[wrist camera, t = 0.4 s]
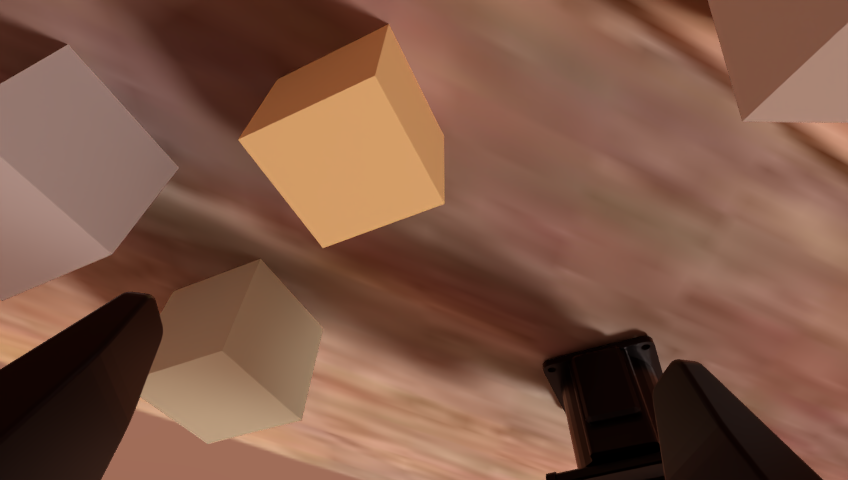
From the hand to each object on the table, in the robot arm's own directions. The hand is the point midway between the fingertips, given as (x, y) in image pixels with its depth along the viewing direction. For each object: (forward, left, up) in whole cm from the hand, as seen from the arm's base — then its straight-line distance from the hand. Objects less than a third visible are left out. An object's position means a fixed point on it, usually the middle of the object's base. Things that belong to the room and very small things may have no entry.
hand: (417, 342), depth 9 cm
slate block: (+3, +15, -14) cm, 21 cm away
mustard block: (-1, +3, -14) cm, 14 cm away
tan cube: (-9, +15, -14) cm, 22 cm away
